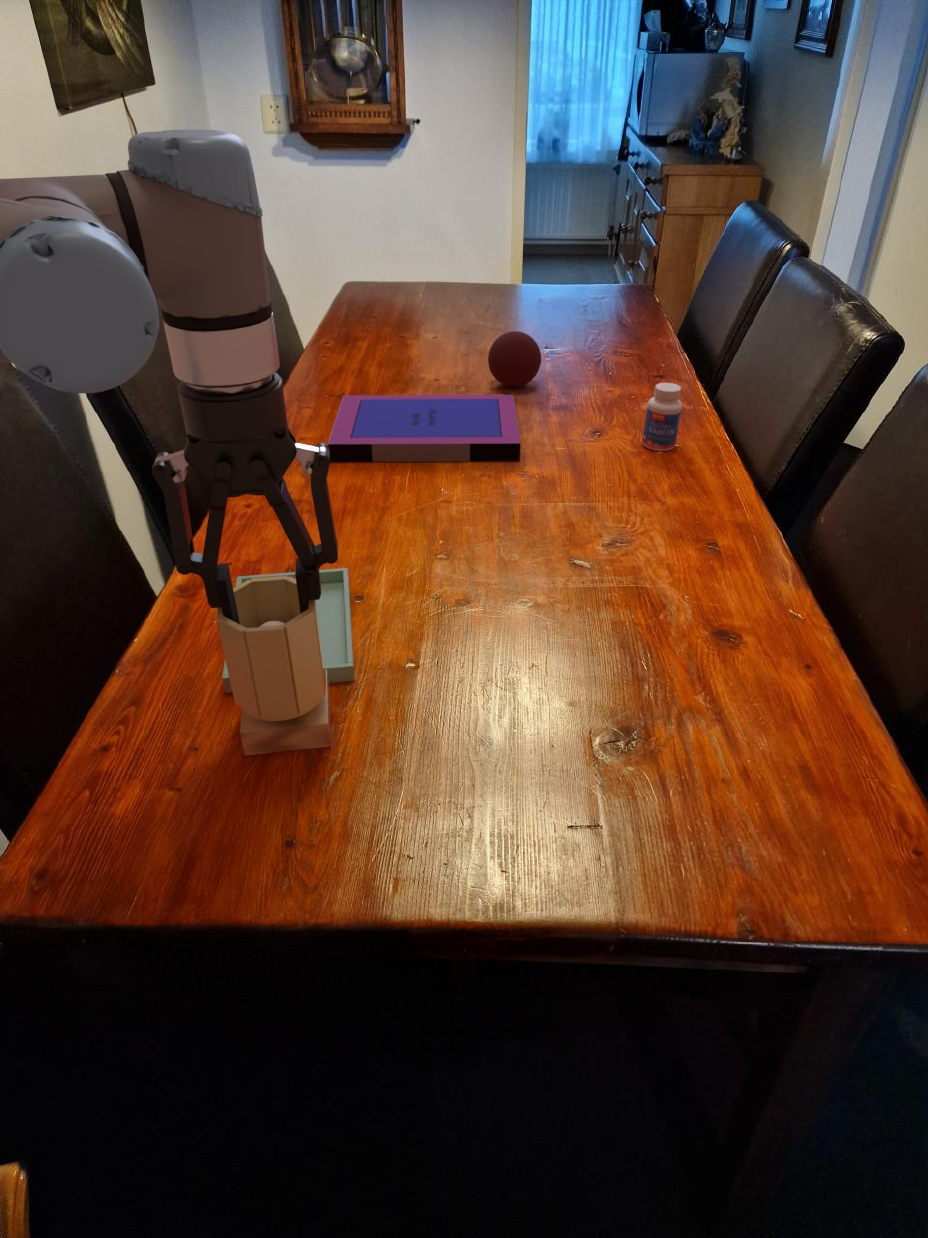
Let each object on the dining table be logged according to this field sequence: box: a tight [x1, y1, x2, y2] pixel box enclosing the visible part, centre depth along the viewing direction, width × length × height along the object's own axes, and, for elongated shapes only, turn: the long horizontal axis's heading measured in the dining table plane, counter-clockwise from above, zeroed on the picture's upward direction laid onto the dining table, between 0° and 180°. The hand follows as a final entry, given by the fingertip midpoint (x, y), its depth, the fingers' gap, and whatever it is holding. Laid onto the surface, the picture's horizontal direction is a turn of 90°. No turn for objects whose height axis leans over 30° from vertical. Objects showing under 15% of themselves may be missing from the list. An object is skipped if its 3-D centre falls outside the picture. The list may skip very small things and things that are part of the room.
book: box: [327, 394, 521, 463], centre depth 136 cm, size 21×3×30 cm
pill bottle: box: [641, 382, 683, 452], centre depth 130 cm, size 6×5×10 cm
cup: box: [215, 576, 326, 721], centre depth 74 cm, size 8×8×10 cm
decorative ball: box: [487, 330, 542, 388], centre depth 153 cm, size 10×10×10 cm
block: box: [239, 670, 332, 756], centre depth 79 cm, size 8×8×3 cm
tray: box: [221, 567, 356, 694], centre depth 91 cm, size 19×13×2 cm
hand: (271, 630), depth 73 cm, fingers closed on cup, 6 cm apart
